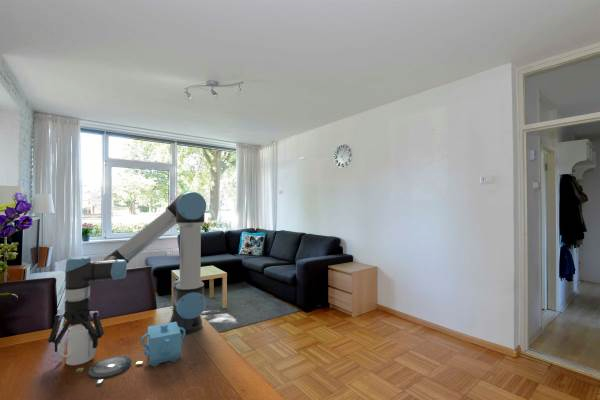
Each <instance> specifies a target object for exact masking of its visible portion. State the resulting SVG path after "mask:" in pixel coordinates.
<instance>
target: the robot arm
mask: <svg viewBox="0 0 600 400" xmlns="http://www.w3.org/2000/svg"><path fill="white" fill-rule="evenodd" d="M206 211H207V201H206V199H205V197H204V196H203V195H202V194H201V193H198V192H196V191H186V192H185V191H184V192H183V193H181V194H179V195H178V196H177V197H176V198H175V199H174V201H172V203H170V204H169V205H168V206H166V207H165V211H164V212H163V213H160V214H159V216H157V217H156V218H154V220H152V221H151V222H150V223H149V224H148V225H146V226H145V227H143V228H142V229H141V230H139V231H138V232H137V233H135V235H133V236H132V237H130V238H129V239H128V240H126V242H125V243H123V244H121V246H119V247H118V248H117V249H116V250H114V251H113V252H112V253H110V254H108V255H107V256H106V257H104V259H103V260H98V261H96V260H94V261H93V260H92V259H91V257H90V256H88V255H85V256H84V255H79V256H72V257H69V258H67V260H65V261H66V263H65V271H64V272H65V273H64V274H65V278H64V280H65V284H64V285H65V288H64V299H65V301H64V313H60V312H59V313H57V314H56V315H55V316H54V317H53V319H54V320H53V321H54V322H53V325H52V329H51V332H50V334H49V337H48V341H47V342H48V343H53V344H54V352H55V353H57V355H56V359H57V360H56V362H57V363H60V362H61V361H62V360H63V359H64V358H63V357H61V356H60V355H59V353H58V347H59V345H60V343H61V341H62V340H63V339H64V337H65V334H66V333H67V332H68V329H69V328H71V327H70V326H71V325H73V326H74V325H80V324H82V325H83V326H84V327H85V329H86V330H88V333H89V335H90V336H91V338H92V339H91V341H90V358H92V359H94V357H95V355H96V348H97V347H98V346H99V339H101V338H102V337H103V336H104V335H105V331H104V329H103V325H102V322H101V320H100V310H96V311H95V310H94V311H92V310H91V308H90V307H91V298H90V296H91V282H99V281H110V280H113V281H115V280H121V279H125V278H126V276H127V270H128V269H127V267H128V263H130V262H131V261H132V260H134V259H135V258H136V257H137V256H139V254H141V253H142V252H143V251H144V250H145V249H147V248H148V247H150V246H151V245H152V244H154V243H155V242H156V241H157V240H158V239H159V238H161V237H162V236H163V235H164V234H166V233H167V232H168V231H169V230H171V229H172V228H173V227H174V226H176V224H177V225H178V226H179V279H178V280H175V281H173V285H172V314H171V317H170V319H169V322H168V323H171V322H177V324H178V327H182V328H184V329H185V332H186V333H185V335H189V334H192V333H196V332H199V330H201V329H202V328H203V320H202V317H201V316H202V315H201V314H202V313H203V312H204V311H205V309H206V306H207V305H206V304H207V299H206V298H205V283H204V282H203V281H202V279H201V275H202V274H201V269H202V268H201V267H202V266H201V264H202V263H201V262H202V261H201V259H202V256H201V255H202V254H201V253H202V252H201V248H202V247H201V246H202V245H201V243H202V242H201V240H202V237H201V236H202V233H201V229H202V226H203V224H205V213H206ZM89 316H90V317H91V318H92V322H93V323H91V320H90V319H89ZM63 319H65V320H66V322H65V324H63V326H62V329H61V330H60V332H59V329H60V326H61V323H62V320H63ZM92 324H93V325H94V327H93V326H92ZM58 332H59V334H58ZM180 332H181V336H182V334H183V331H182V330H180ZM64 343H65V341H64V342H63V344H62V345H61V348H60V353H61V354H62V355H64V350H65V348H64V347H65V346H64ZM93 356H94V357H93Z"/></svg>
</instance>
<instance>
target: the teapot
mask: <svg viewBox="0 0 600 400" xmlns="http://www.w3.org/2000/svg"><path fill="white" fill-rule="evenodd" d="M180 330H182V331H183V334H182V335H181V332H180ZM185 333H186V332H185V329H184V328H182V327H178V324H177V322H171V323H169V322H166V323H161V324H156V325H155V324H154V325H149V326H147V333H145V334H144V335H143V336H142V337H141V339H140V342H141V345H142V346H143V347H144V348H145V349H144V350H143V355H144V356H147V357H148V363H149V366H151V367H158V366H159V365H160V364H162V363H166V362H170V363H173V362H174V361H175V362H177V361H178V359H181V358H182V357H181V356H182V355H181V354H182V353H181V352H182V351H181V350H182V348H183V346H184V343H183V342H182V340H183V339H184V338H185V336H186V334H185ZM146 338H147V343H146V342H145V339H146ZM176 360H177V361H176Z"/></svg>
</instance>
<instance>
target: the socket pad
mask: <svg viewBox="0 0 600 400" xmlns="http://www.w3.org/2000/svg"><path fill="white" fill-rule="evenodd" d="M143 364H144V361H143V360H142V361H141V360H140V361H136V363H135V366H136V367H139V366H140V367H141V366H142V365H143ZM131 365H132V359H131V358H130V357H129V356H126V355H117V356H116V355H115V356H109V357H107V358H103V359H101V360H99V361H96V362H95V363H93V364H91V365H90V366H89V368H88V371H87V375H88V376H89V378H91V379H98V380H97V382H96V383H95V386H102V384H103V383H104V379H106V378H107V379H108V378H112V377H115V376H117V375H120V374H122V373H125V372H126V371H127V370H128V369H129V368H130V367H131ZM84 371H85V367H78V368H77V369H76V370H75V373H76V374H78V373H84Z"/></svg>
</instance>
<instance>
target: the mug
mask: <svg viewBox="0 0 600 400" xmlns="http://www.w3.org/2000/svg"><path fill="white" fill-rule="evenodd" d="M91 324H92V326H93V327H94V328H95V325H94V323H91ZM91 339H92V338H91V336H90V335H89V333H88V330H86V329H85V327H84V326H83V325H82V324H75V325H73V326H71V327H69V328H68V330H67V335H66V336H64V337H63V338H62V340H61V343H60V345H59V347H58V353H59V355H60V356H61V357H63V359H66V360H65V364H66V365H68V366H77V365H79V366H80V365H83V364H85V363H87V362H90V361H91V360H93V358H94V357H95V355H94V356H93V358H90V341H91ZM65 341H67V343H66V345H67V346H66V349H67V350H66V352H67V353H66V354H63V355H62V354H61V353H60V348H61V345H62V344H63V342H64V343H65Z"/></svg>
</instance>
